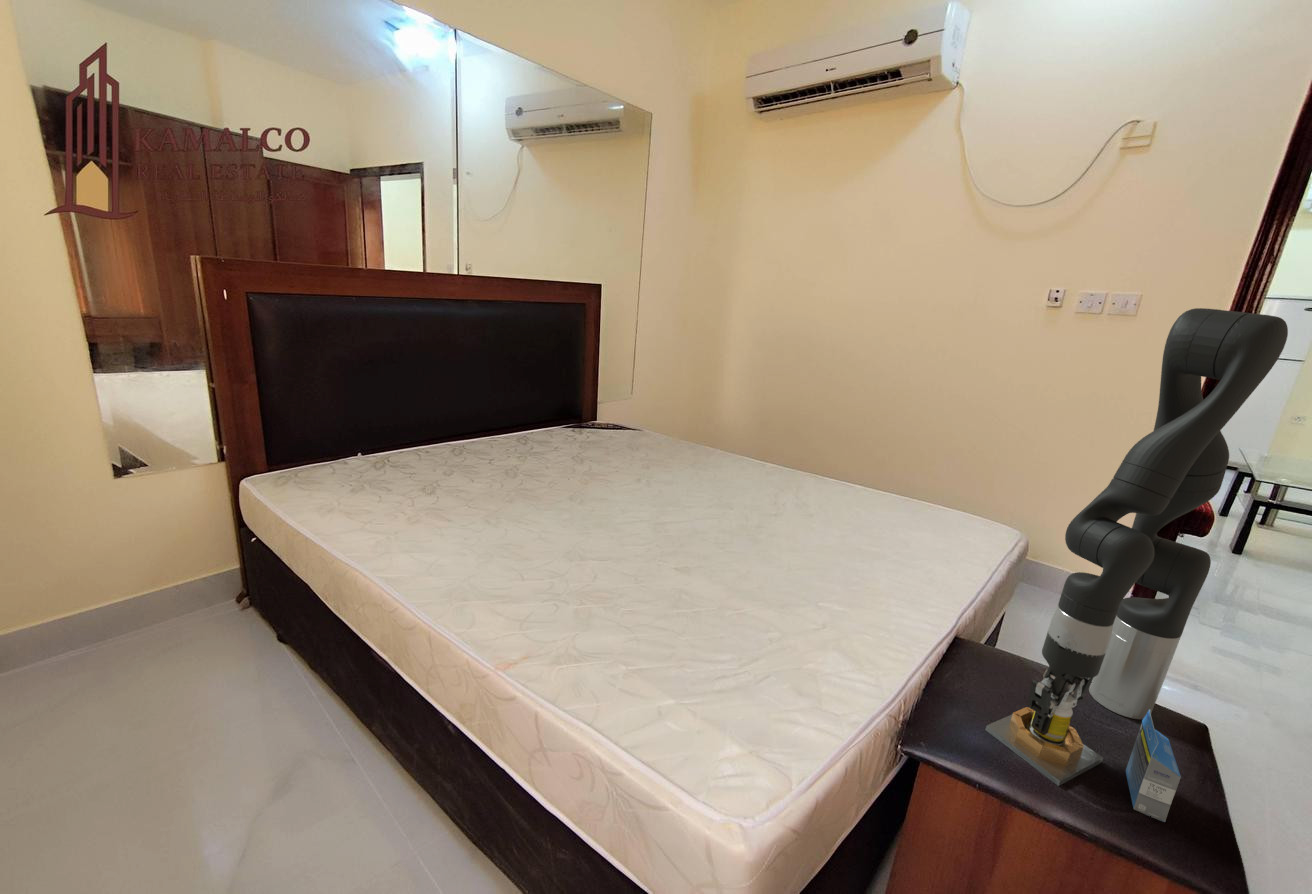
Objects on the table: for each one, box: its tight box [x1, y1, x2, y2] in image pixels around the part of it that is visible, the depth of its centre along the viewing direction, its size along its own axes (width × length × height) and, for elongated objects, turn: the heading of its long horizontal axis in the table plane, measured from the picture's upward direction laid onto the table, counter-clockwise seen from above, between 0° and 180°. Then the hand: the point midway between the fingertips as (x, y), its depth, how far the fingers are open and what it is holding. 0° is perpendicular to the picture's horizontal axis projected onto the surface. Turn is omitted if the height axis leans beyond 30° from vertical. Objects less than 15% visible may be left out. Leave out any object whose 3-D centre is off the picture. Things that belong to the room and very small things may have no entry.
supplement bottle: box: [1030, 694, 1074, 746], centre depth 91 cm, size 5×5×8 cm
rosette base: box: [985, 706, 1104, 787], centre depth 92 cm, size 12×12×4 cm
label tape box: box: [1125, 709, 1182, 823], centre depth 83 cm, size 9×4×12 cm, turn 146°
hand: (1048, 725), depth 91 cm, fingers closed on supplement bottle, 4 cm apart
